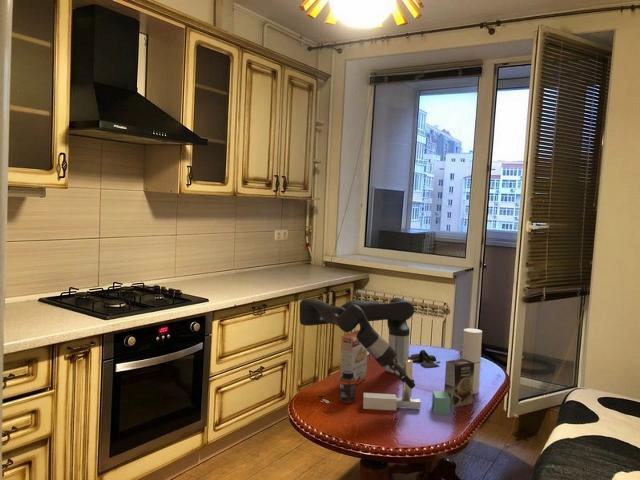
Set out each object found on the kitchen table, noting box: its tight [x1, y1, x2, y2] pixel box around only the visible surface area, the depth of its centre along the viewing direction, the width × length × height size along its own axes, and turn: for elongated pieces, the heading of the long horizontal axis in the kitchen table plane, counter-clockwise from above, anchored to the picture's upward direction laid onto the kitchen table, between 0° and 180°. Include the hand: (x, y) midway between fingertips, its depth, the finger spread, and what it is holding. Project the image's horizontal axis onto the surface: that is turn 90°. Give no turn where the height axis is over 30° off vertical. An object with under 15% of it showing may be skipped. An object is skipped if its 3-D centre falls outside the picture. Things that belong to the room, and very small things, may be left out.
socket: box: [431, 390, 451, 416], centre depth 189 cm, size 5×7×6 cm
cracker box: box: [338, 329, 368, 386], centre depth 215 cm, size 14×6×21 cm, turn 148°
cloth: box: [408, 349, 441, 369], centre depth 250 cm, size 22×19×6 cm
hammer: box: [396, 359, 422, 409], centre depth 190 cm, size 20×3×17 cm, turn 86°
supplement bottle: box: [339, 370, 357, 404], centre depth 195 cm, size 6×6×11 cm
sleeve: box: [362, 392, 398, 411], centre depth 191 cm, size 12×5×4 cm, turn 86°
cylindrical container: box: [461, 327, 483, 395], centre depth 210 cm, size 7×7×25 cm
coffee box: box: [443, 358, 474, 408], centre depth 197 cm, size 9×6×16 cm
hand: (412, 385), depth 189 cm, fingers closed on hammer, 3 cm apart
